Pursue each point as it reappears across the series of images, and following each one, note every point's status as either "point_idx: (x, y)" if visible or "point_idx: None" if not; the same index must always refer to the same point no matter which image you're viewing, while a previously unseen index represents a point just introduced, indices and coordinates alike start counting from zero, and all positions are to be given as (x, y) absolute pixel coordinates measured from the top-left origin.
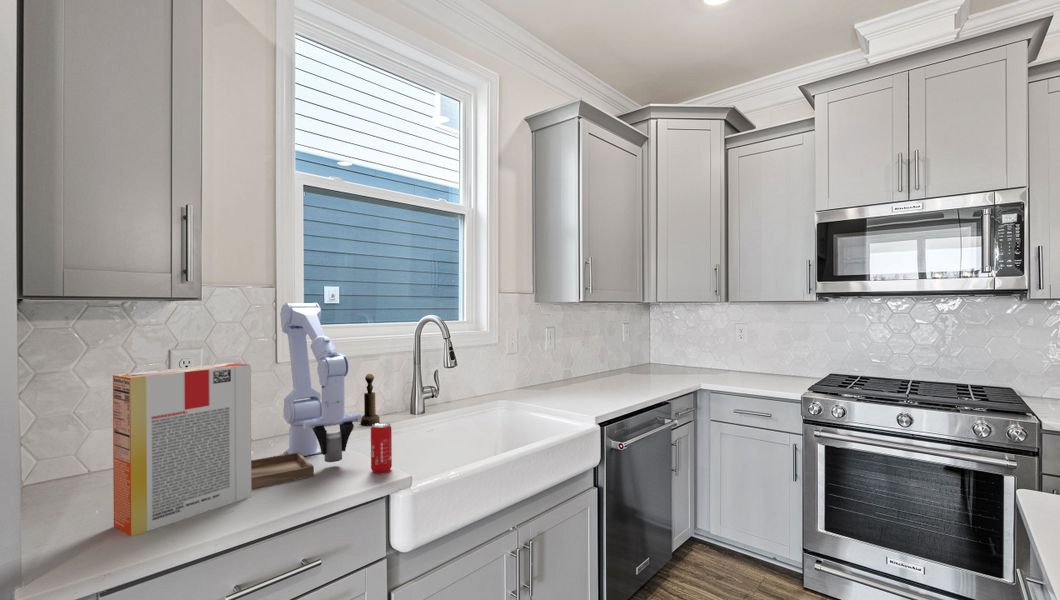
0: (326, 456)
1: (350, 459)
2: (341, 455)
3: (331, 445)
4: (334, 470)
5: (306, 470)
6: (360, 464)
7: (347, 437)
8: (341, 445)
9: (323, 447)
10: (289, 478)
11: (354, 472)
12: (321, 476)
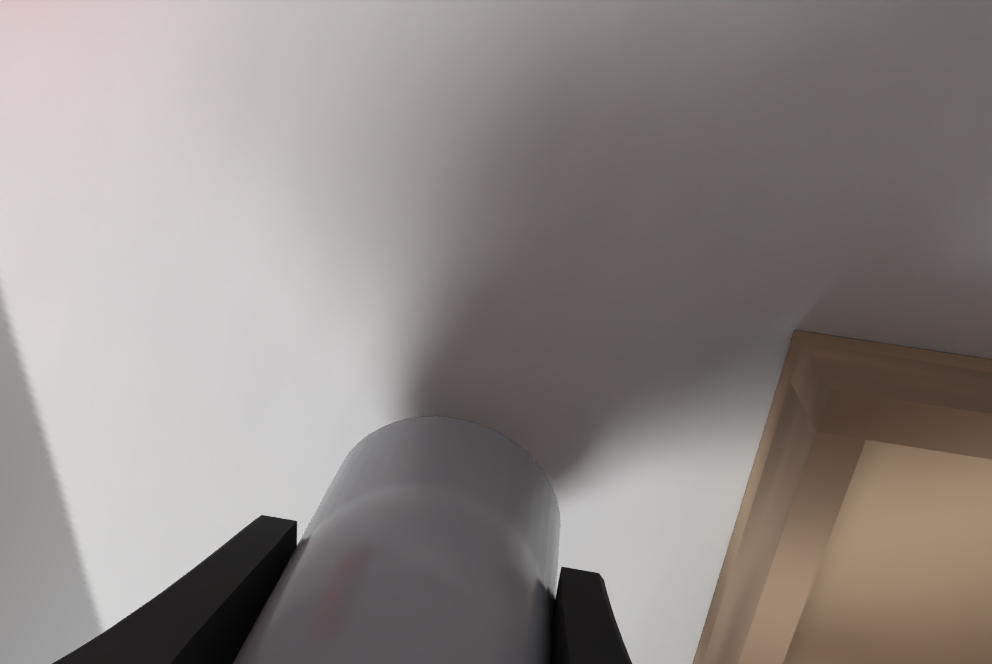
0: (551, 548)
1: None
2: (342, 475)
3: (476, 619)
4: (500, 346)
5: (926, 387)
6: (164, 325)
7: (95, 656)
8: (284, 583)
9: (616, 656)
10: None
11: (330, 67)
12: (733, 245)
